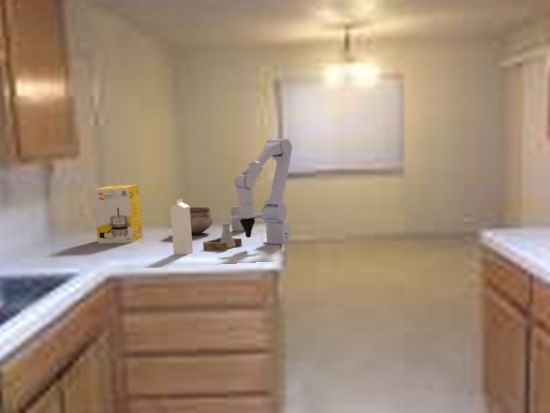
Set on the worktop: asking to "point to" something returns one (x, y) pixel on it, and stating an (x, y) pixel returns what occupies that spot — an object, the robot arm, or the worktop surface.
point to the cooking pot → (200, 219)
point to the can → (236, 224)
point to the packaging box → (118, 214)
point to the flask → (227, 236)
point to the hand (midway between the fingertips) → (248, 237)
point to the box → (219, 244)
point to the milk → (181, 228)
